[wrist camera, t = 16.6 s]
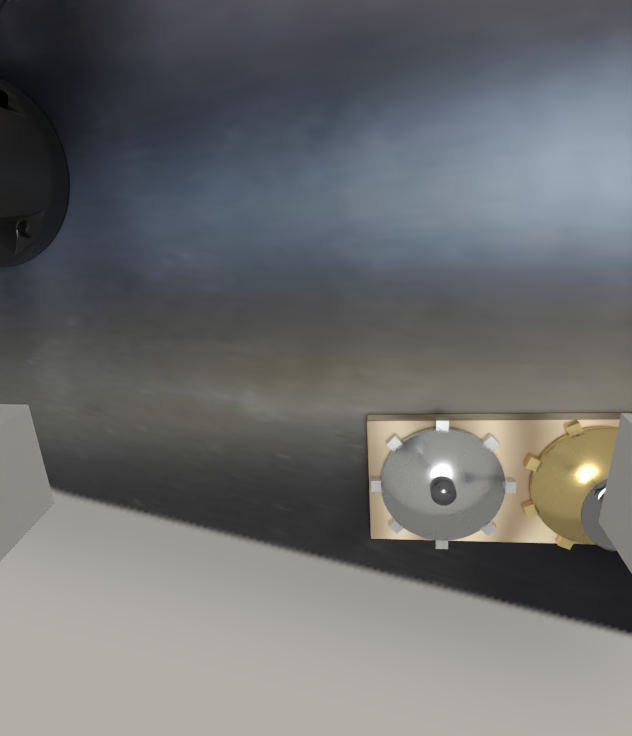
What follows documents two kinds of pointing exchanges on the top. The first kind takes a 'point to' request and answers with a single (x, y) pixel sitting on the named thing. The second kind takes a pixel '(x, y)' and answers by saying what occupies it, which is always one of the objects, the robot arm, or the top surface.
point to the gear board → (486, 475)
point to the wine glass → (595, 517)
